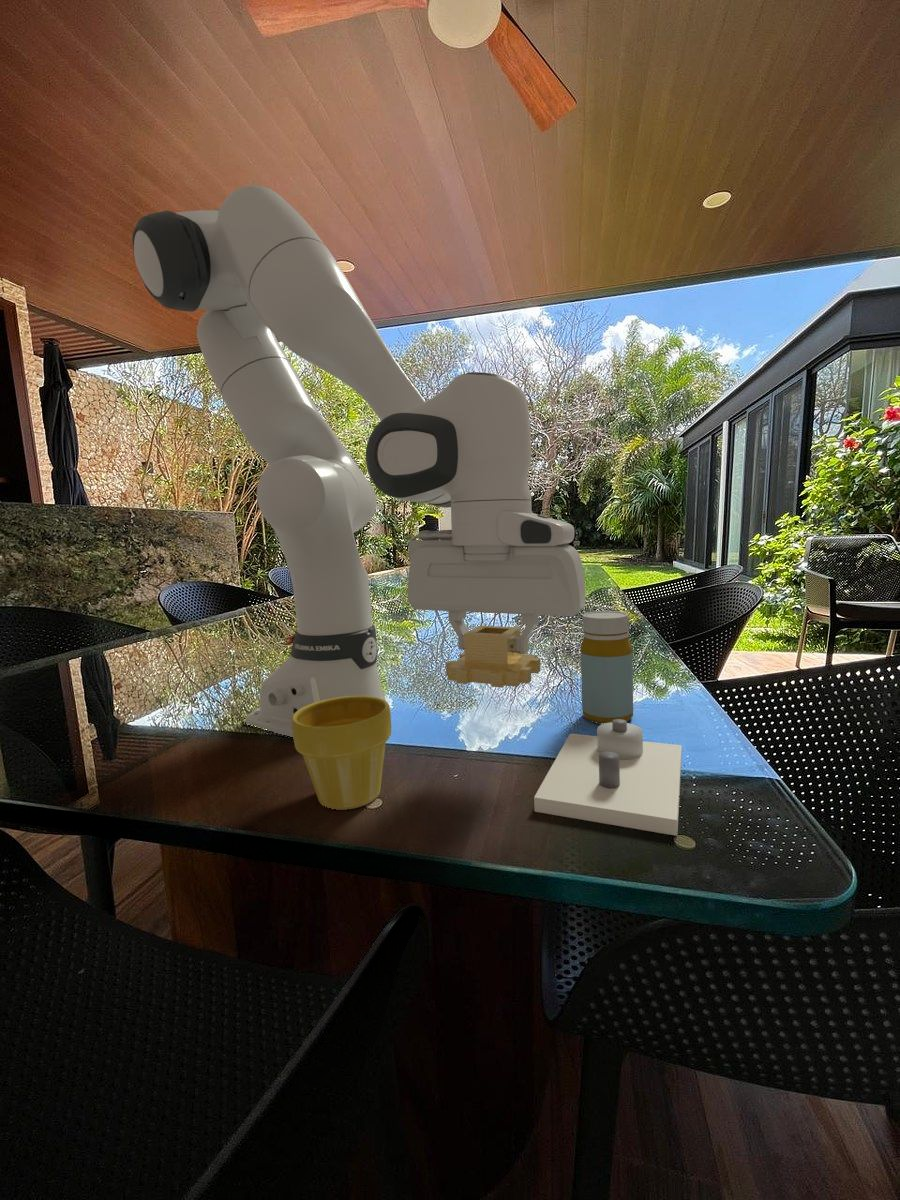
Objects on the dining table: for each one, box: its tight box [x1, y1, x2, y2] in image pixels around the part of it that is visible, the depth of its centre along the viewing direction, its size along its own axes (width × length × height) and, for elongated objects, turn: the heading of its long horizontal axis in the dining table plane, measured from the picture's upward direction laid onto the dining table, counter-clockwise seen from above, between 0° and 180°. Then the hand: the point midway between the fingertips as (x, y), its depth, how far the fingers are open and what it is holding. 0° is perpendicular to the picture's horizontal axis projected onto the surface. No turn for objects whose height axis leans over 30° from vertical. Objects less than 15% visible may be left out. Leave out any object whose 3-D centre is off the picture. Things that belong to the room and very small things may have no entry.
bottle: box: [580, 610, 634, 724], centre depth 76 cm, size 7×7×15 cm
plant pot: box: [292, 696, 392, 811], centre depth 58 cm, size 10×10×10 cm
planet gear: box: [445, 625, 542, 688], centre depth 61 cm, size 10×10×5 cm
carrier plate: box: [533, 719, 683, 837], centre depth 58 cm, size 13×17×5 cm
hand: (493, 651), depth 61 cm, fingers closed on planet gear, 5 cm apart
